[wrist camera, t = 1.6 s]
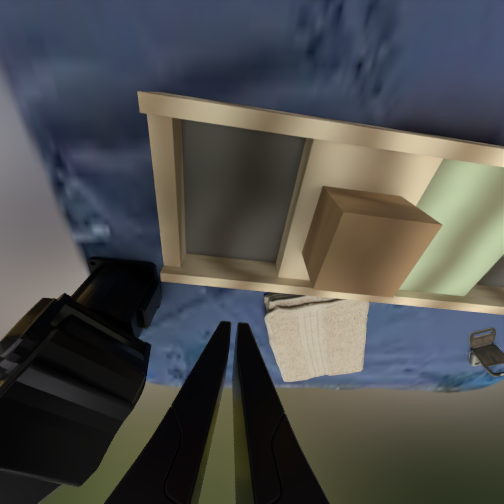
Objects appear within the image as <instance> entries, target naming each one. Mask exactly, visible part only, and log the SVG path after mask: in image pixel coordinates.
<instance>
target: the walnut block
mask: <svg viewBox="0 0 504 504" xmlns="http://www.w3.org/2000/svg"><path fill="white" fill-rule="evenodd" d="M442 226H443V225H442V224H441V223H439V222H438V221H436V220H435V219H434V218H432V217H431V216H429V215H428V214H426V213H425V212H423V211H422V210H420V209H419V208H418V207H416V206H415V205H413V204H412V203H410V202H409V201H407V200H406V199H404V198H403V197H402V196H396V195H388V194H381V193H373V192H366V191H359V190H351V189H344V188H336V187H329V186H323V187H322V190H321V193H320V196H319V199H318V202H317V206H316V209H315V212H314V215H313V218H312V222H311V225H310V228H309V231H308V234H307V238H306V241H305V244H304V247H303V250H302V256H303V259H304V263H305V266H306V269H307V272H308V276H309V279H310V282H311V285H312V288H313V290H321V291H331V292H341V293H351V294H361V295H371V296H381V297H391V298H393V297H394V296H395V294H396V293H397V291H398V290H399V288H400V287H401V285H402V284H403V282H404V281H405V279H406V278H407V277H408V275H409V274H410V272H411V271H412V269H413V268H414V266H415V265H416V263H417V262H418V261H419V259H420V258H421V256H422V255H423V253H424V252H425V250H426V249H427V247H428V246H429V245H430V243H431V242H432V240H433V239H434V237H435V236H436V234H437V233H438V231H439V230H440V228H441V227H442Z"/></svg>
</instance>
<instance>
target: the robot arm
mask: <svg viewBox="0 0 504 504" xmlns="http://www.w3.org/2000/svg"><path fill="white" fill-rule="evenodd" d="M94 262H95V263H94ZM88 265H89V268H90V271H91V275H90V276H89V277H88V278H87V279H86V280H85V281H84V283H83V284H82V285H81V286H80V287H79V288H78V289H77V290H76V291H75V293H74V294H73V295H72V296H69V295H67V294H66V293H64V294H62V295H61V296H60V297H59V298H57V299H54V298H53V299H51V298H42V299H41V300H40V301H39V302H38V303H37V304H36V305H35V306H34V307H33V308H31V309H30V310H29V311H28V312H27V314H25V316H23V317H22V318H21V320H19V321H18V323H17V324H16V325H15V326H14V327H13V328H12V329H11V330H10V331H9V332H8V333H7V334H6V336H5V337H4V338H3V339H2V340H1V341H0V504H40V503H41V502H42V501H43V500H44V499H46V498H47V497H48V496H50V495H51V494H52V493H53V492H55V491H56V490H57V489H58V488H60V487H61V486H62V485H63V484H64V485H69V486H74V487H79V486H81V485H82V484H83V483H84V482H85V481H86V480H87V479H88V478H89V477H90V476H91V475H92V474H93V473H94V472H95V471H96V470H97V468H98V467H99V465H100V463H101V461H102V459H103V457H104V455H105V453H106V451H107V449H108V447H109V445H110V443H111V441H112V439H113V438H114V436H115V434H116V433H117V431H118V430H119V428H120V426H121V425H122V423H123V422H124V420H125V419H126V418H127V416H128V415H129V414H130V413H131V411H132V410H133V409H134V406H135V405H136V403H137V402H138V400H139V398H140V396H141V394H142V391H143V389H144V386H145V382H146V376H147V370H148V363H149V357H150V350H151V344H149V343H147V342H144V341H142V340H140V339H138V338H139V336H140V334H141V332H142V330H143V329H147V328H148V327H149V326H150V324H151V322H152V319H153V317H154V315H155V313H156V310H157V308H159V307H160V301H161V299H162V297H161V289H160V283H159V282H158V281H157V275H156V267H155V265H154V264H152V263H146V262H136V261H127V260H117V259H107V258H97V257H91V258H90V259H89V260H88ZM149 267H150V268H151V269H150V268H149ZM230 333H231V322H229V321H221V322H220V324H219V325H218V327H217V329H216V330H215V332H214V334H213V335H212V337H211V339H210V340H209V342H208V344H207V346H206V347H205V349H204V351H203V352H202V354H201V356H200V357H199V359H198V361H197V362H196V364H195V366H194V368H193V369H192V371H191V373H190V374H189V376H188V378H187V379H186V381H185V383H184V384H183V386H182V388H181V390H180V391H179V393H178V395H177V397H176V398H175V400H174V401H173V403H172V407H170V408H169V410H168V411H167V413H166V415H165V416H164V418H163V420H162V421H161V423H160V424H159V426H158V428H157V430H156V431H155V433H154V434H153V436H152V437H151V439H150V440H149V442H148V443H147V445H146V446H145V447H144V449H143V450H142V452H141V453H140V455H139V456H138V458H137V459H136V460H135V462H134V463H133V465H132V466H131V467H130V469H129V470H128V471H127V473H126V474H125V475H124V477H123V478H122V480H121V481H120V482H119V484H118V485H117V486H116V488H115V489H114V491H113V492H112V493H111V495H110V496H109V497H108V499H107V500H106V501H105V503H104V504H198V503H199V499H200V494H201V490H202V485H203V480H204V475H205V471H206V466H207V461H208V457H209V452H210V448H211V442H212V438H213V434H214V429H215V425H216V420H217V415H218V410H219V406H220V401H221V397H222V392H223V387H224V382H225V376H226V369H227V361H228V354H229V345H230ZM232 390H233V391H232V392H233V426H234V427H233V428H234V463H235V500H236V504H330V503H329V501H328V499H327V497H326V496H325V494H324V492H323V490H322V488H321V486H320V484H319V483H318V480H317V479H316V477H315V475H314V473H313V471H312V469H311V467H310V465H309V463H308V462H307V459H306V457H305V455H304V453H303V451H302V450H301V447H300V445H299V443H298V441H297V439H296V437H295V434H294V432H293V430H292V427H291V425H290V423H289V420H288V418H287V415H286V414H284V412H285V411H284V408H283V406H282V404H281V401H280V399H279V397H278V394H277V392H276V389H275V387H274V384H273V382H272V379H271V377H270V375H269V372H268V370H267V367H266V365H265V362H264V360H263V358H262V355H261V353H260V350H259V348H258V345H257V343H256V341H255V338H254V336H253V333H252V331H251V328H250V326H249V324H248V323H241V322H240V323H238V326H237V332H236V340H235V351H234V363H233V376H232Z"/></svg>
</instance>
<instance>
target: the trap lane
mask: <svg viewBox="0 0 504 504" xmlns="http://www.w3.org/2000/svg"><path fill="white" fill-rule="evenodd" d="M137 93H138V101H139V109H140V113H145V114H147V119H148V128H149V137H150V146H151V155H152V164H153V173H154V182H155V191H156V200H157V209H158V218H159V227H160V236H161V245H162V254H163V263H164V266H163V268H162V270H161V272H160V276H161V281H162V282H172V283H182V284H193V285H203V286H213V287H224V288H234V289H244V290H255V291H265V292H275V293H286V294H296V295H306V296H317V297H327V298H337V299H348V300H358V301H368V302H379V303H389V304H399V305H410V306H420V307H430V308H441V309H451V310H461V311H472V312H482V313H492V314H503V315H504V146H499V145H492V144H486V143H480V142H473V141H467V140H461V139H454V138H448V137H442V136H435V135H429V134H423V133H416V132H410V131H404V130H397V129H391V128H385V127H378V126H372V125H366V124H359V123H353V122H347V121H340V120H334V119H328V118H321V117H315V116H309V115H302V114H296V113H290V112H283V111H277V110H271V109H264V108H258V107H252V106H245V105H239V104H233V103H226V102H220V101H214V100H207V99H201V98H195V97H188V96H182V95H175V94H169V93H163V92H138V91H137ZM323 186H329V187H336V188H344V189H351V190H359V191H366V192H373V193H381V194H388V195H396V196H402V197H403V198H404V199H406V200H407V201H409V202H410V203H412V204H413V205H415V206H416V207H418V208H419V209H420V210H422V211H423V212H425V213H426V214H428V215H429V216H431V217H432V218H434V219H435V220H436V221H438V222H439V223H441V224H442V225H443V226H442V227H441V228H440V230H439V231H438V233H437V234H436V236H435V237H434V239H433V240H432V242H431V243H430V245H429V246H428V247H427V249H426V250H425V252H424V253H423V255H422V256H421V258H420V259H419V261H418V262H417V263H416V265H415V266H414V268H413V269H412V271H411V272H410V274H409V275H408V277H407V278H406V279H405V281H404V282H403V284H402V285H401V287H400V288H399V290H398V291H397V293H396V294H395V296H394V297H393V298H391V297H381V296H371V295H361V294H351V293H341V292H331V291H321V290H313V288H312V285H311V282H310V279H309V276H308V272H307V269H306V266H305V263H304V259H303V256H302V250H303V247H304V244H305V241H306V238H307V234H308V231H309V228H310V225H311V222H312V218H313V215H314V212H315V209H316V206H317V202H318V199H319V196H320V193H321V190H322V187H323Z"/></svg>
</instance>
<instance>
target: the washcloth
mask: <svg viewBox="0 0 504 504" xmlns="http://www.w3.org/2000/svg"><path fill="white" fill-rule="evenodd" d="M264 303H265V306H266V310H267V312H268V313H267V314H266V315H265V318H264V319H265V323H266V327H267V331H268V335H269V343H270V345H271V348H272V350H273V352H274V355H275V358H276V363H277V364H278V367H279V369H280V371H281V375H282V378H283V380H284V381H285V382H288V381H289V382H292V381H300V380H307V379H310V378H313V377H319V376H323V375H329V376H331V375H339V374H340V375H341V374H346V373H355V372H360V371H361V370H362V369H363V360H364V349H365V346H364V345H365V343H366V339H365V338H366V331H367V328H366V323H367V314H368V308H369V302H368V301H358V300H348V299H337V298H327V297H317V296H306V295H296V294H286V293H275V292H273V293H270V294H267V295H265V296H264Z"/></svg>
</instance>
